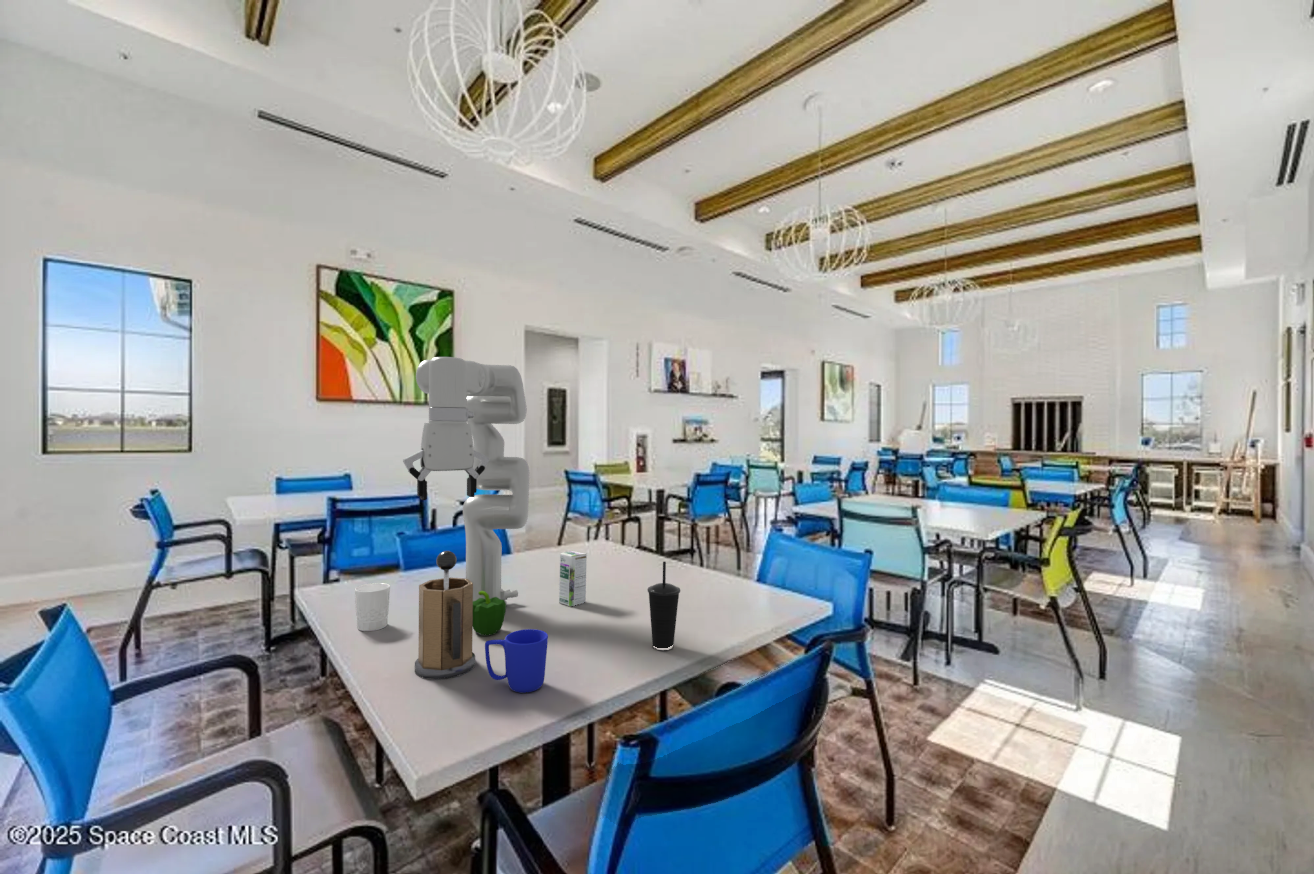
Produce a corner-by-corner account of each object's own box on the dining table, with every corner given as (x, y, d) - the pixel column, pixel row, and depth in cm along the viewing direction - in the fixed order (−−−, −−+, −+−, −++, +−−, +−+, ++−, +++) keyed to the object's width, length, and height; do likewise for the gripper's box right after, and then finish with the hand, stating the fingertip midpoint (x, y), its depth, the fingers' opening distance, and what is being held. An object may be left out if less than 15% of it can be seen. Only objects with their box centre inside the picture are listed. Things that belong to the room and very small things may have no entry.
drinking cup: (655, 655, 128) (657, 567, 127) (641, 644, 135) (642, 559, 134) (685, 650, 131) (686, 563, 131) (669, 638, 138) (670, 556, 138)
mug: (489, 678, 115) (489, 629, 115) (549, 677, 116) (550, 628, 116) (479, 697, 107) (480, 644, 107) (545, 696, 108) (545, 643, 108)
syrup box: (558, 603, 165) (558, 553, 164) (573, 598, 169) (574, 549, 169) (571, 607, 161) (571, 556, 161) (586, 602, 165) (587, 552, 165)
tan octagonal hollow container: (465, 651, 129) (466, 573, 128) (486, 673, 117) (487, 589, 117) (409, 662, 122) (409, 581, 122) (424, 688, 110) (425, 598, 110)
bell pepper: (511, 632, 141) (512, 592, 140) (480, 641, 135) (481, 599, 135) (494, 623, 147) (494, 585, 146) (464, 631, 141) (464, 591, 141)
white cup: (375, 633, 139) (375, 592, 138) (347, 630, 140) (347, 590, 140) (396, 622, 146) (396, 584, 146) (369, 620, 148) (369, 581, 148)
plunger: (458, 629, 126) (459, 545, 125) (469, 640, 119) (470, 552, 119) (422, 636, 121) (423, 549, 121) (431, 648, 115) (432, 556, 115)
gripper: (483, 417, 128) (482, 493, 128) (400, 415, 118) (399, 498, 118) (494, 417, 121) (493, 497, 122) (407, 415, 112) (407, 503, 112)
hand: (447, 497), depth 120 cm, fingers open, 9 cm apart
